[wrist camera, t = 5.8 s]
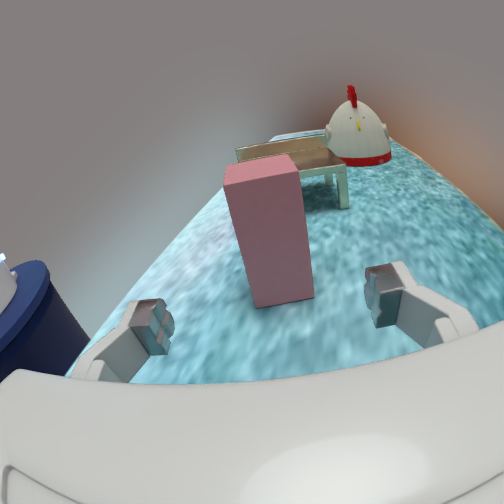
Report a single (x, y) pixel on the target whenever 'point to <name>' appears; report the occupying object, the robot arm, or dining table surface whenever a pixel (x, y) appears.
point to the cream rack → (305, 160)
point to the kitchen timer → (358, 134)
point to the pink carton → (271, 228)
